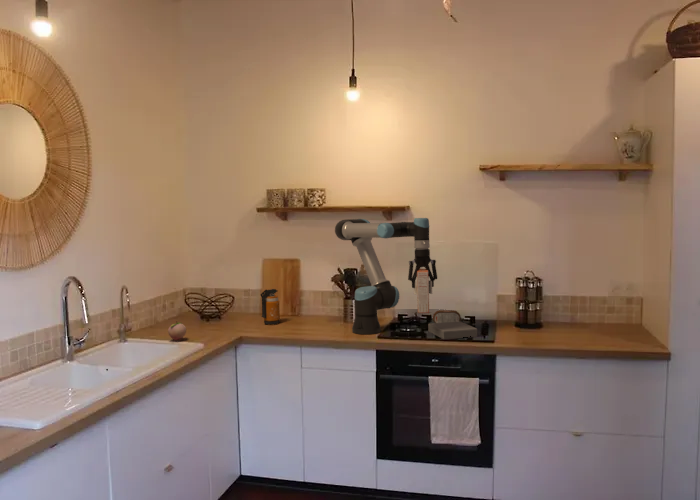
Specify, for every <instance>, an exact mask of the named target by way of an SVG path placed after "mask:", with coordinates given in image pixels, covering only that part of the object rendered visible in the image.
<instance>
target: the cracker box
mask: <svg viewBox="0 0 700 500" xmlns="http://www.w3.org/2000/svg"><path fill="white" fill-rule="evenodd" d="M429 280H430V278H429V274H428V270H426V268H420V269H419V271H417V277H416V282H417V295H416V297H417V299H416V301H417V305H416V306H417V314H430V293H429Z"/></svg>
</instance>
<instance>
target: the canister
mask: <svg viewBox="0 0 700 500" xmlns="http://www.w3.org/2000/svg"><path fill="white" fill-rule="evenodd" d="M278 291H279V290H277V289H276V288H271V289H264V291H262V292H261V293H260V297H261V318H263V323H264V324H265V325H268V324H274V325H277V323H278V324H279V323H281V318H280V317H281V316H280V311H281V309H280V300H279V296H278V295H277V293H278Z"/></svg>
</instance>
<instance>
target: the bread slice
mask: <svg viewBox="0 0 700 500" xmlns="http://www.w3.org/2000/svg"><path fill="white" fill-rule="evenodd" d="M461 318H462V317H461V314H460V313H459V312H458V311H457V310H452V309H451V310H445V309H444V310H443V309H439V310H437V311H435V312H434V313H433V315H432V319H433V322H434V323H444V322H458V321H460V322H461V320H462V319H461Z"/></svg>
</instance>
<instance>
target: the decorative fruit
mask: <svg viewBox="0 0 700 500" xmlns="http://www.w3.org/2000/svg"><path fill="white" fill-rule="evenodd" d="M175 322H176V323H172V324H171V325H170V326H169V327H168V329H167V333H168V336H169V337H170V338H171V339H172V340H174V341H176V340H178V341H180V340H181V339H182V338H184V337H185V336H186V334H187V327H186V326H185V325H184V324H183V323H182V322H178V321H175Z"/></svg>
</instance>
